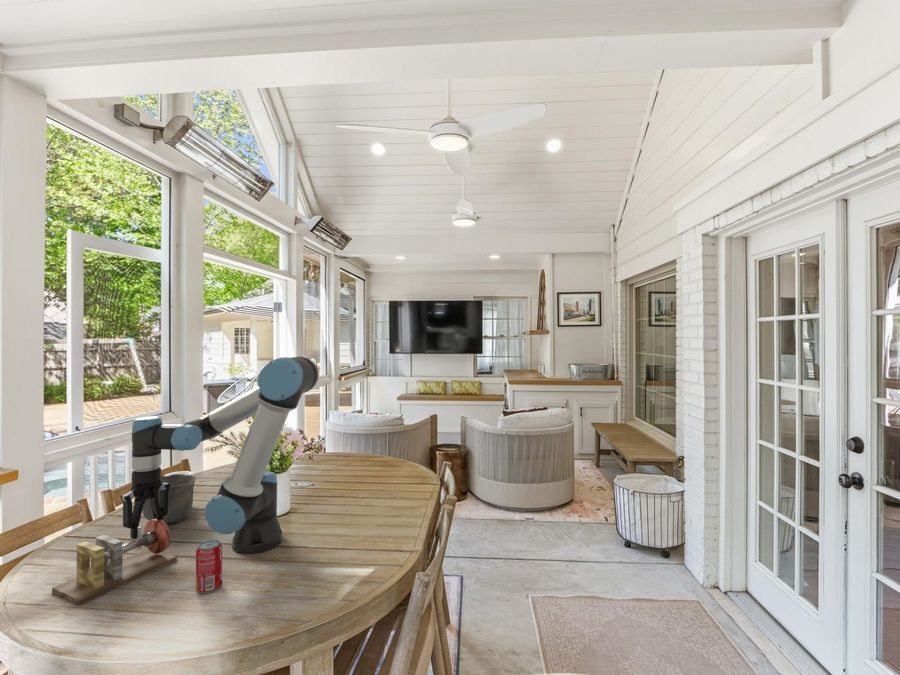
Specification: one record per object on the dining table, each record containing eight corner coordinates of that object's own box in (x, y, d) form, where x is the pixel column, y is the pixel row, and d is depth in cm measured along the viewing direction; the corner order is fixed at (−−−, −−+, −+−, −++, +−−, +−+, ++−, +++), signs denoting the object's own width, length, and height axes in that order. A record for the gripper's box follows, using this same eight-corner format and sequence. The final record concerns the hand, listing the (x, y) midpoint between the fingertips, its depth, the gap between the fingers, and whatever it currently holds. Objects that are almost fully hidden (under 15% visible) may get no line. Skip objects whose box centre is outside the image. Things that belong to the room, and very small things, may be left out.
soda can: (194, 597, 116) (194, 550, 116) (197, 585, 122) (197, 540, 122) (221, 591, 118) (221, 546, 119) (222, 580, 124) (223, 536, 124)
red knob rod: (170, 554, 135) (170, 521, 135) (105, 582, 119) (106, 545, 119) (149, 547, 139) (150, 515, 139) (84, 574, 123) (84, 537, 123)
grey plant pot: (151, 536, 152) (151, 492, 152) (127, 524, 161) (127, 483, 161) (203, 518, 167) (204, 478, 167) (179, 509, 176) (179, 471, 176)
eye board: (176, 560, 135) (176, 523, 135) (79, 604, 112) (79, 560, 112) (149, 551, 141) (150, 516, 141) (52, 592, 118) (52, 549, 118)
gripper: (167, 459, 146) (166, 531, 146) (107, 474, 130) (106, 554, 130) (182, 462, 143) (181, 535, 143) (123, 477, 127) (122, 560, 127)
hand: (146, 544), depth 136 cm, fingers closed on red knob rod, 4 cm apart
